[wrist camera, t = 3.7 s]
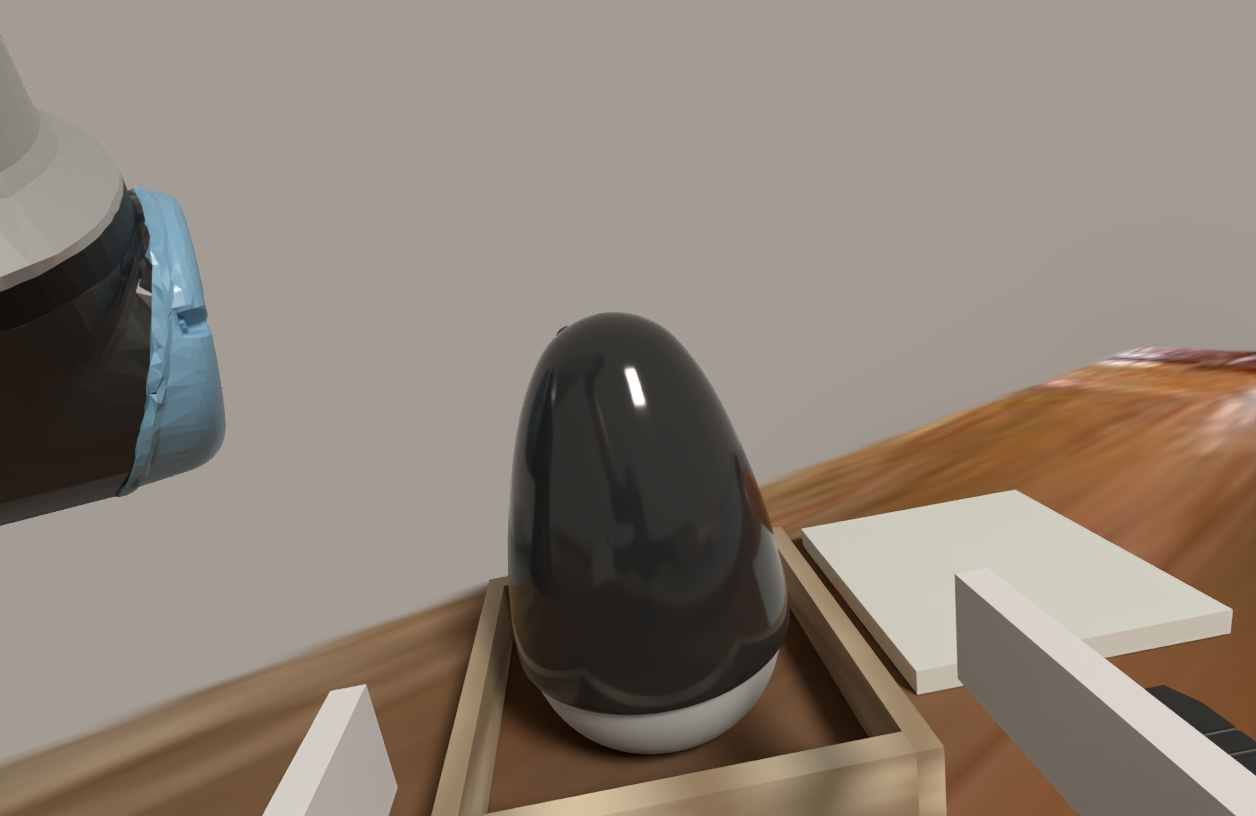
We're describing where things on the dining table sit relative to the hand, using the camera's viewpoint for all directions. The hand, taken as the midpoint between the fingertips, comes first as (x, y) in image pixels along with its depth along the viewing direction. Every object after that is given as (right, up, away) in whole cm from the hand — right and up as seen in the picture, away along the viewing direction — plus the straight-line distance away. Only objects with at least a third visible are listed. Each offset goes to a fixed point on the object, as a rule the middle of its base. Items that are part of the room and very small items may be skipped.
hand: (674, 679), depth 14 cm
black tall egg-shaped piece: (0, -6, +11) cm, 13 cm away
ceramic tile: (+15, -2, +15) cm, 21 cm away
